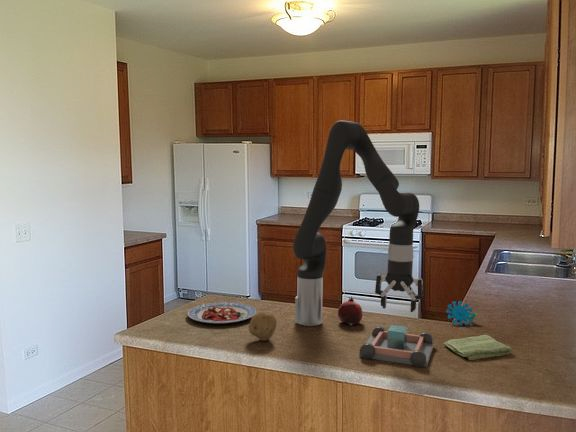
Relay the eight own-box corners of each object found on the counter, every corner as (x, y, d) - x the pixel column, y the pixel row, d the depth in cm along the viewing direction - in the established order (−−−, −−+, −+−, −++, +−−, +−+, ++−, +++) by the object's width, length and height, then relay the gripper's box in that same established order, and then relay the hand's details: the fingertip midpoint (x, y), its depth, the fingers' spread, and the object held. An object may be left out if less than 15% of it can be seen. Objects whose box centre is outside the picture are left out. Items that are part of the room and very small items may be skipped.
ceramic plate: (175, 324, 188) (175, 316, 188) (204, 305, 213) (204, 298, 212) (243, 330, 182) (243, 322, 181) (264, 310, 206) (264, 302, 206)
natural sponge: (251, 346, 166) (251, 316, 165) (246, 337, 174) (246, 308, 173) (279, 344, 168) (279, 314, 167) (272, 335, 177) (272, 306, 176)
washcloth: (440, 347, 168) (441, 337, 167) (487, 342, 173) (488, 332, 172) (465, 362, 155) (465, 352, 155) (515, 356, 160) (515, 346, 160)
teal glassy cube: (387, 349, 160) (387, 330, 159) (390, 343, 166) (391, 324, 165) (403, 351, 158) (404, 332, 158) (406, 345, 164) (407, 326, 163)
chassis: (358, 358, 157) (358, 344, 156) (372, 338, 174) (372, 325, 174) (426, 368, 150) (426, 353, 149) (433, 346, 167) (434, 333, 167)
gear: (446, 321, 188) (447, 297, 194) (443, 328, 192) (443, 305, 198) (478, 327, 186) (477, 303, 192) (473, 334, 191) (473, 310, 197)
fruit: (350, 329, 184) (351, 301, 182) (332, 322, 191) (332, 296, 190) (368, 324, 189) (369, 297, 188) (349, 317, 197) (349, 292, 195)
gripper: (374, 258, 158) (372, 310, 160) (422, 262, 153) (420, 316, 154) (379, 254, 165) (377, 303, 167) (425, 258, 159) (423, 309, 161)
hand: (398, 309), depth 161 cm, fingers open, 8 cm apart
